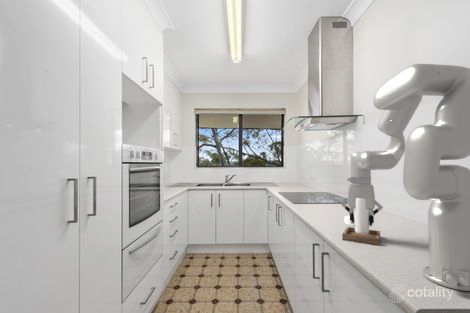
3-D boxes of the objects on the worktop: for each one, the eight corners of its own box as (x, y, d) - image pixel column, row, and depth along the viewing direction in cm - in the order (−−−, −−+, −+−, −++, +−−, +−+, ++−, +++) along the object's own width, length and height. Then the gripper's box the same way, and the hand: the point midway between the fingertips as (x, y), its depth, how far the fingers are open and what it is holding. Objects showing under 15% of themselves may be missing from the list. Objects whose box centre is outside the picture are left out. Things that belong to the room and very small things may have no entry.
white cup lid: (360, 222, 131) (360, 215, 131) (369, 226, 121) (369, 219, 121) (341, 221, 132) (341, 215, 132) (348, 226, 122) (348, 219, 122)
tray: (378, 245, 93) (378, 239, 93) (342, 239, 100) (342, 233, 100) (380, 236, 104) (380, 231, 104) (347, 232, 111) (347, 226, 111)
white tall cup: (373, 236, 98) (372, 199, 99) (355, 235, 100) (354, 198, 100) (367, 231, 105) (367, 196, 105) (351, 230, 106) (350, 196, 107)
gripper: (337, 181, 104) (338, 222, 104) (384, 182, 95) (385, 228, 94) (340, 179, 111) (341, 219, 110) (385, 181, 101) (385, 224, 101)
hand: (361, 223), depth 102 cm, fingers closed on white tall cup, 6 cm apart
